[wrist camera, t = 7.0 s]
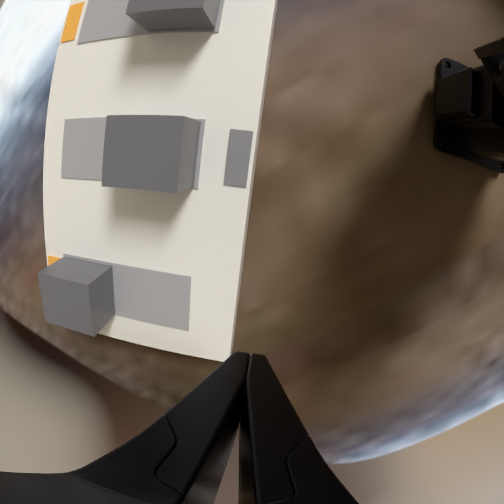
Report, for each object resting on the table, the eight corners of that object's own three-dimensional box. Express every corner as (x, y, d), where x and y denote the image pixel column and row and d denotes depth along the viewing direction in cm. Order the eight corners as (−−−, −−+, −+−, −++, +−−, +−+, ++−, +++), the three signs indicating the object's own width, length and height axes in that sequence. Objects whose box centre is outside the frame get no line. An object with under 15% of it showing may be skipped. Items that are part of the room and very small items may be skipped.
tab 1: (112, 265, 19) (88, 284, 16) (115, 313, 20) (94, 336, 17) (64, 256, 19) (37, 272, 16) (69, 301, 20) (46, 321, 17)
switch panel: (281, -26, 14) (281, -42, 12) (232, 346, 22) (228, 363, 20) (91, -12, 14) (77, -22, 12) (68, 309, 23) (55, 321, 21)
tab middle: (200, 121, 15) (184, 116, 13) (193, 185, 17) (176, 193, 14) (133, 119, 16) (106, 115, 13) (127, 179, 17) (101, 186, 14)
